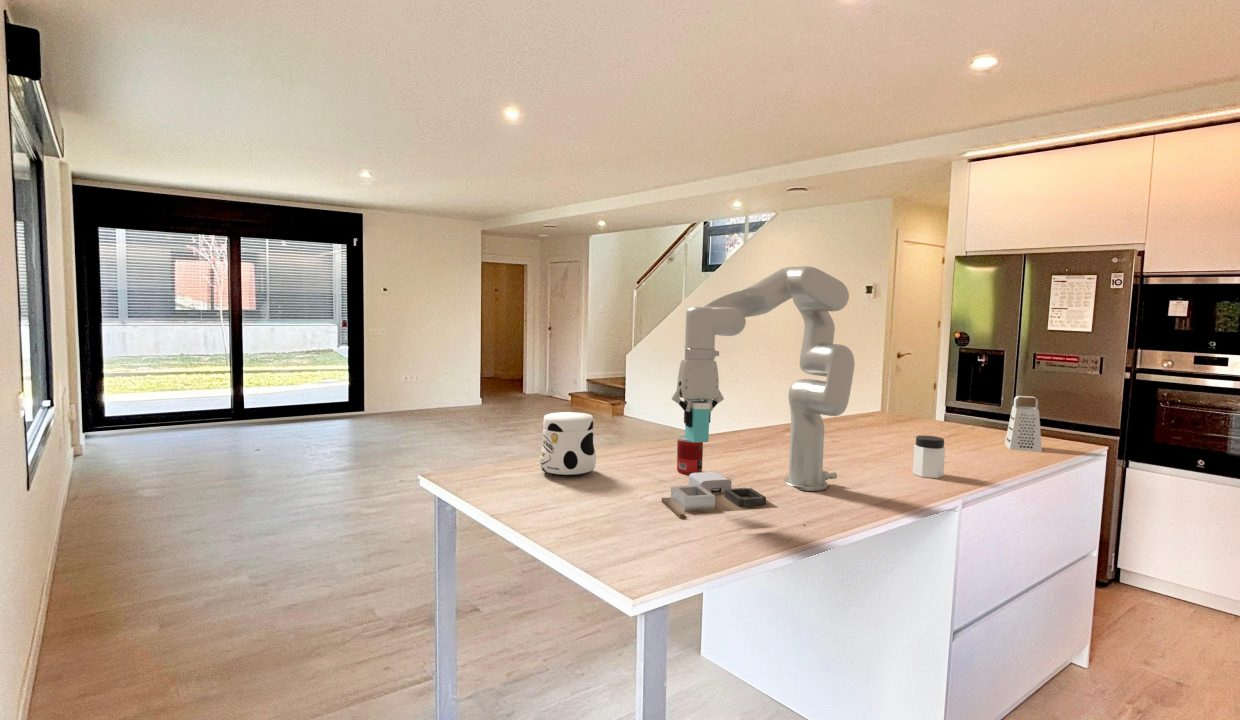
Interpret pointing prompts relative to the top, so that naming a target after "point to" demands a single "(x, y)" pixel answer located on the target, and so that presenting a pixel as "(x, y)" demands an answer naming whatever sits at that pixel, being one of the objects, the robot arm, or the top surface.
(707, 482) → the charger
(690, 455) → the canned food
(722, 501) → the brown socket board
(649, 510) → the top surface
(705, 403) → the plug
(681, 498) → the frame
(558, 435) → the milk container
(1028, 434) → the grater
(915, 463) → the jar
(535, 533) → the top surface
